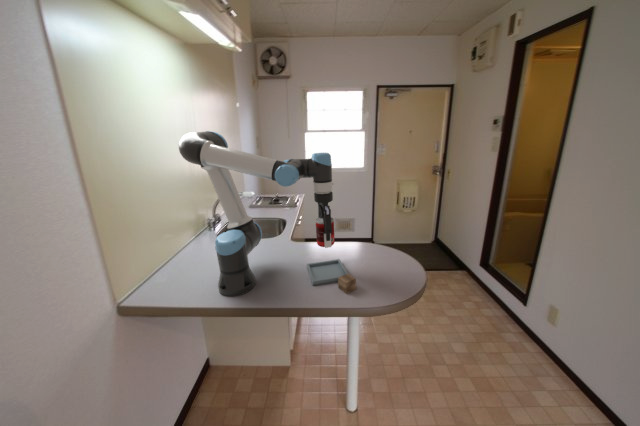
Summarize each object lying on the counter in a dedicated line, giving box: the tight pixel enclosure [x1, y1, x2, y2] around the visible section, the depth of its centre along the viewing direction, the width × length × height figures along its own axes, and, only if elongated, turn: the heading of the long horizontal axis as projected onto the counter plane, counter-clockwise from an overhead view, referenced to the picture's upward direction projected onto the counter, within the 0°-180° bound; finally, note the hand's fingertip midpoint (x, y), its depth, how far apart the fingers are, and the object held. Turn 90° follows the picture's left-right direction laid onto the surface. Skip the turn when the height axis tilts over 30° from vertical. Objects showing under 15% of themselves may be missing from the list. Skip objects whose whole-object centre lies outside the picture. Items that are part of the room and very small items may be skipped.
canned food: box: [315, 217, 335, 248], centre depth 117 cm, size 8×8×11 cm
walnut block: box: [337, 273, 357, 295], centre depth 110 cm, size 5×5×5 cm
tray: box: [305, 258, 349, 287], centre depth 123 cm, size 16×16×2 cm
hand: (325, 243), depth 119 cm, fingers closed on canned food, 8 cm apart
